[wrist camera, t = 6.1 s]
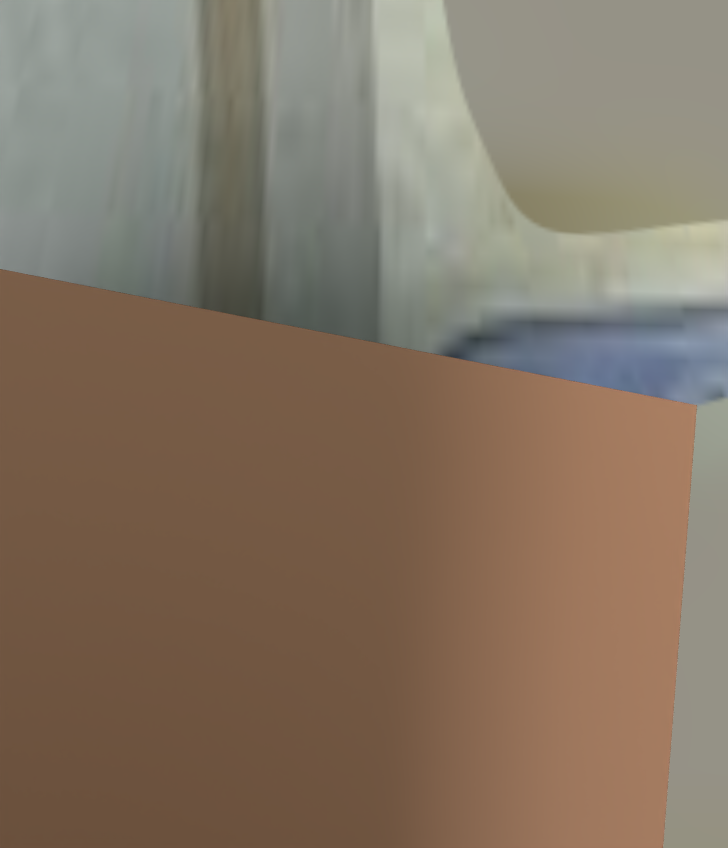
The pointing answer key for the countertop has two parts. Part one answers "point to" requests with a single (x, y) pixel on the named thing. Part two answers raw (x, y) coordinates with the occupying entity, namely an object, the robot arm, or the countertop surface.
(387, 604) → the tall block
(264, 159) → the countertop surface
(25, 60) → the countertop surface
